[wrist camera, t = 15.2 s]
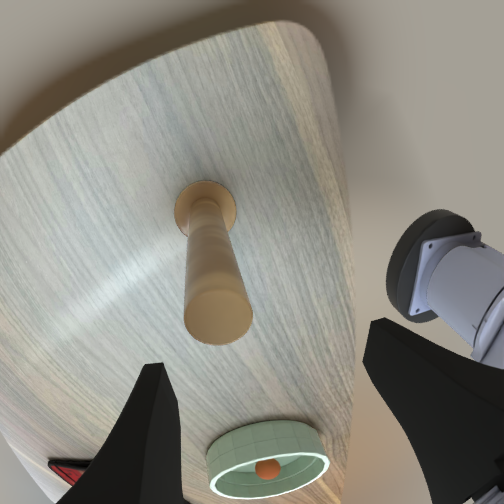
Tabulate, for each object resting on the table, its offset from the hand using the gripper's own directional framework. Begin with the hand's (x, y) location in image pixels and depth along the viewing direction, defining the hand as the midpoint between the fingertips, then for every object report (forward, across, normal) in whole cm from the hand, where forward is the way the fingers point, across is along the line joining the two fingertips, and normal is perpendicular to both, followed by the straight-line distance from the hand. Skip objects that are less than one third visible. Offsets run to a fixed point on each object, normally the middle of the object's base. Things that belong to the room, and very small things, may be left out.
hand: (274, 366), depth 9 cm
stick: (+10, +1, -3) cm, 11 cm away
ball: (+8, -1, +27) cm, 28 cm away
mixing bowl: (+10, -1, +25) cm, 27 cm away
